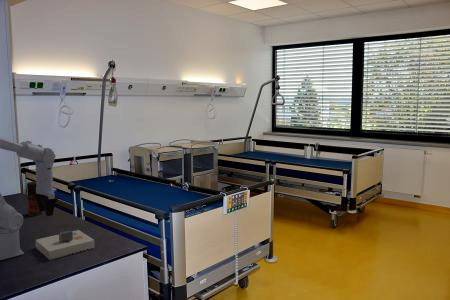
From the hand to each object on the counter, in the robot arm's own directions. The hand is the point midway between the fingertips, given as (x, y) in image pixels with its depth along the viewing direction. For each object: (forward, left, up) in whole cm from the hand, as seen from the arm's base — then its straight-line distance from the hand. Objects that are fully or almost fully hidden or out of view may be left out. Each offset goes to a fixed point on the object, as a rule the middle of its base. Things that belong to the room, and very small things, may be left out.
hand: (46, 213), depth 145 cm
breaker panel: (+2, -13, -10) cm, 17 cm away
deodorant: (+7, +36, -11) cm, 38 cm away
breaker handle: (+2, -14, -7) cm, 16 cm away
